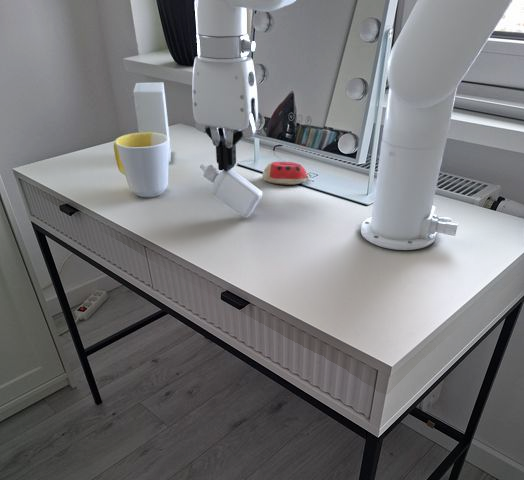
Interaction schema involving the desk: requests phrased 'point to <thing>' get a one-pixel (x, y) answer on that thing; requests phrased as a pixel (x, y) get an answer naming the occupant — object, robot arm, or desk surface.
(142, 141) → the mug
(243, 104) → the robot arm
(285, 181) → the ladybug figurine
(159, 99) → the cosmetic box
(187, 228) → the desk surface
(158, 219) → the desk surface
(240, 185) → the eye dropper bottle
